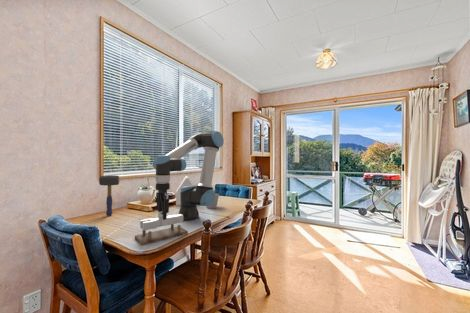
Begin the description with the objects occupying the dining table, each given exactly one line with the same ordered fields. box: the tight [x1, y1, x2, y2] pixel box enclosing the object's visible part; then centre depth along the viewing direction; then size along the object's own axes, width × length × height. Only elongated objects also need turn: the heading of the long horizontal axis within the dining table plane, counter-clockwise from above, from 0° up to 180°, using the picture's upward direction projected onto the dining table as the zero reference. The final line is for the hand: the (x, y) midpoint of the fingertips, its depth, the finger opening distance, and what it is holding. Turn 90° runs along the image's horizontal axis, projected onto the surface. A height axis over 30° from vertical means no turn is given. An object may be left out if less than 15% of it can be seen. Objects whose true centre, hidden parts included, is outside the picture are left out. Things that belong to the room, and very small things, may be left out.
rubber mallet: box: [98, 175, 120, 217], centre depth 161 cm, size 12×8×30 cm, turn 109°
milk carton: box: [175, 175, 195, 207], centre depth 205 cm, size 19×15×25 cm
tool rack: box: [134, 224, 189, 246], centre depth 122 cm, size 26×12×6 cm, turn 130°
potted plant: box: [205, 187, 220, 210], centre depth 190 cm, size 13×14×20 cm
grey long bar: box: [139, 213, 184, 232], centre depth 122 cm, size 23×6×4 cm, turn 130°
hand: (162, 223), depth 122 cm, fingers closed on grey long bar, 4 cm apart
